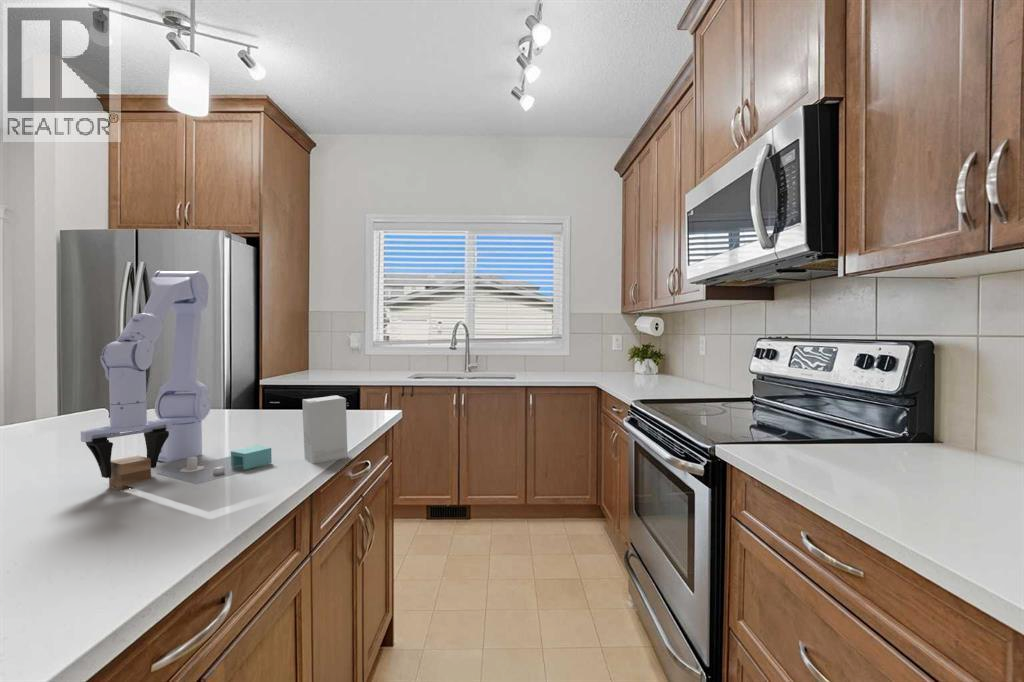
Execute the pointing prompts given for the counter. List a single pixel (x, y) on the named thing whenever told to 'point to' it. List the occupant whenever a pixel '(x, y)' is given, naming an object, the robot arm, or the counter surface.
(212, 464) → the slate board
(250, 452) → the housing cover
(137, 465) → the jaw block
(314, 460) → the skincare box
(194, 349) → the robot arm
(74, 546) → the counter surface
